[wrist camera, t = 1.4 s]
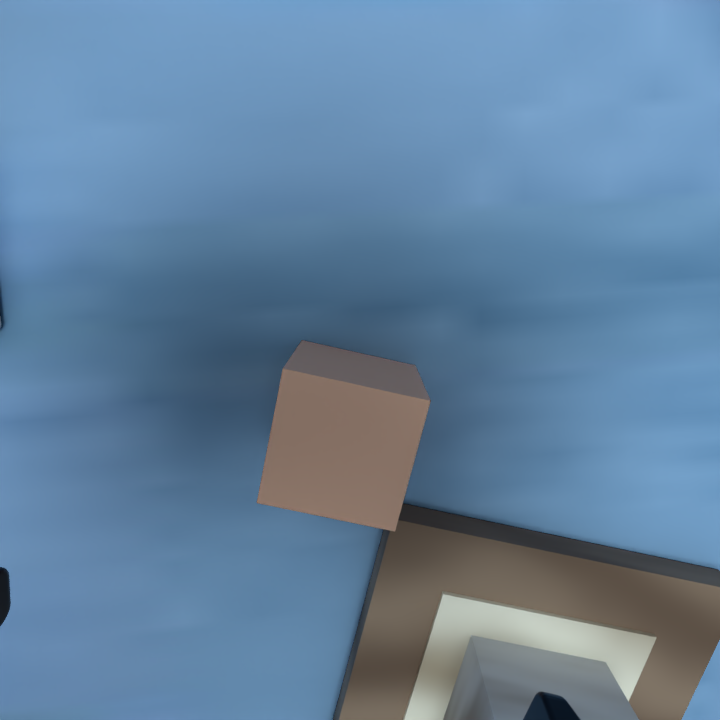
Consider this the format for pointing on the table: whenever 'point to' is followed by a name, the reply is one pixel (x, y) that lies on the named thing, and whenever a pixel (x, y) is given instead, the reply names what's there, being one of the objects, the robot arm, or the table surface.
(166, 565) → the table surface
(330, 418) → the terracotta block
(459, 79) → the table surface
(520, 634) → the base board
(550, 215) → the table surface
